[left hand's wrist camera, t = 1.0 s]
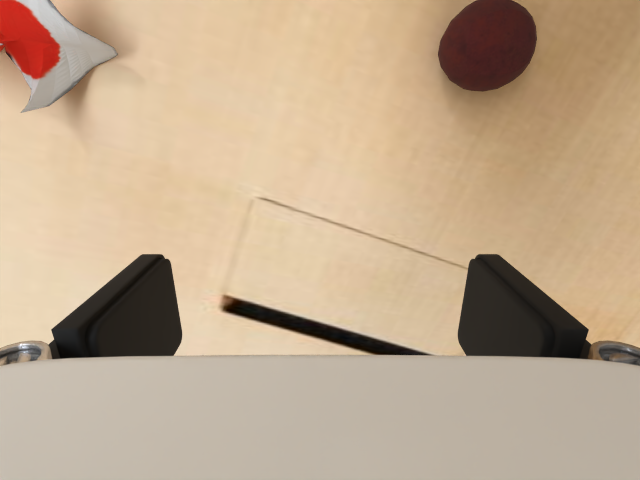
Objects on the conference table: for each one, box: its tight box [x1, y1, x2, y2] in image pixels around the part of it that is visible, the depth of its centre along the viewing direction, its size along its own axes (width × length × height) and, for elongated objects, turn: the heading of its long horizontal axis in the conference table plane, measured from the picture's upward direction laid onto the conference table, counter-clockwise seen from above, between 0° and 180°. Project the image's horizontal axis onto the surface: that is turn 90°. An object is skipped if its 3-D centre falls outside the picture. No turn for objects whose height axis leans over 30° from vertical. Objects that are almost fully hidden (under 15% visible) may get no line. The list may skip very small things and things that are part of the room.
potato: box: [438, 0, 537, 91], centre depth 31 cm, size 7×8×7 cm
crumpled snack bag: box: [0, 0, 118, 113], centre depth 30 cm, size 11×16×10 cm
